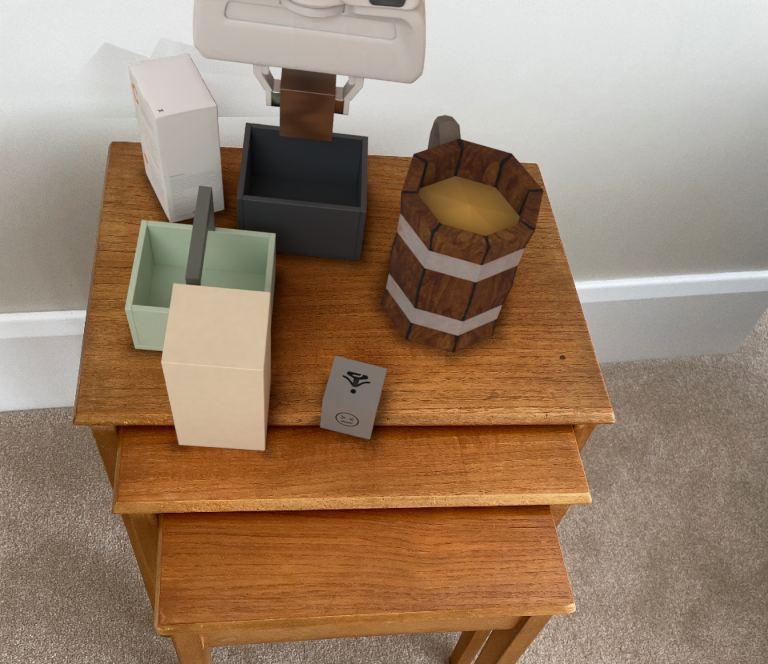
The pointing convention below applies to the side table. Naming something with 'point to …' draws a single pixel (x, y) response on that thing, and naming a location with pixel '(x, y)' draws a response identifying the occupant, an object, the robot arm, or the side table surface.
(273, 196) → the black open box
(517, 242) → the mug
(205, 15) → the robot arm
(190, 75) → the small box
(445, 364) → the side table surface
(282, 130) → the block
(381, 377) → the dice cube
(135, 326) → the basket with handle
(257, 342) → the stand
